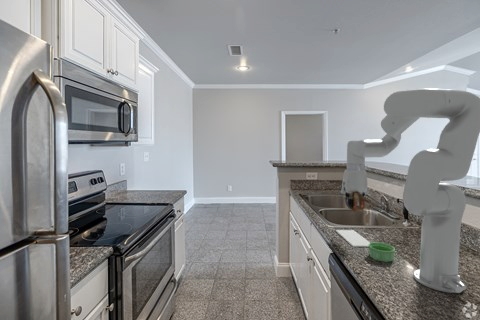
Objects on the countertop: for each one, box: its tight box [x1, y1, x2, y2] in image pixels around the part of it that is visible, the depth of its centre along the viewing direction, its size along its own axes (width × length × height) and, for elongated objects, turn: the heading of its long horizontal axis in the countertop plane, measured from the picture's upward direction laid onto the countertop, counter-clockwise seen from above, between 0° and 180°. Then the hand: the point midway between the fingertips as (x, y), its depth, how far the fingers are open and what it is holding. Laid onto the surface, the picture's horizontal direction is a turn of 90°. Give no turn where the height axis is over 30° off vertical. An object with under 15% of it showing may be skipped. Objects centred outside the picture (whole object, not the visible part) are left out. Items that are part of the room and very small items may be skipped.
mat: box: [335, 229, 371, 248], centre depth 119 cm, size 20×9×1 cm, turn 0°
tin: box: [344, 191, 365, 213], centre depth 118 cm, size 15×3×8 cm, turn 0°
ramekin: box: [368, 241, 396, 263], centre depth 99 cm, size 9×9×4 cm
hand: (354, 206), depth 118 cm, fingers closed on tin, 2 cm apart
